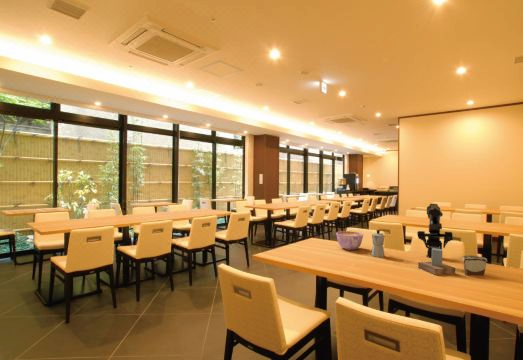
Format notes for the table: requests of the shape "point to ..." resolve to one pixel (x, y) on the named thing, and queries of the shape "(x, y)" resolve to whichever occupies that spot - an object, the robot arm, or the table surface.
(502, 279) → the table surface
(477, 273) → the food container
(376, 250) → the coffee maker
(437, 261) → the slate block
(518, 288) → the table surface
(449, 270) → the walnut block
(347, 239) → the bowl of food
